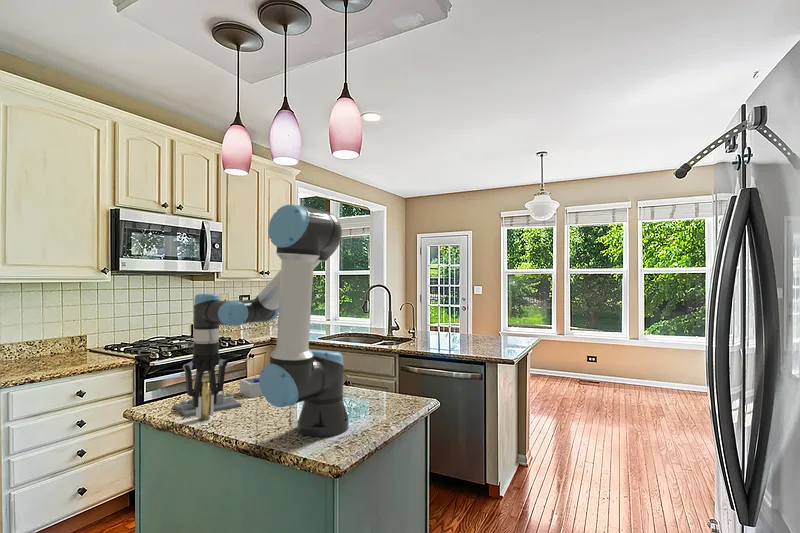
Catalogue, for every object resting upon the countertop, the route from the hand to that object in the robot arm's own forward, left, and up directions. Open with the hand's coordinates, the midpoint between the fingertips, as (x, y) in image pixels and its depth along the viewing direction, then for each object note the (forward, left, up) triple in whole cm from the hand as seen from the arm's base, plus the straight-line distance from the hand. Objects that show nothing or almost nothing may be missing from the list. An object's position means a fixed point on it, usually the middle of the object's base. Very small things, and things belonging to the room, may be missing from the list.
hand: (204, 415), depth 136 cm
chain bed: (+13, -5, -1) cm, 14 cm away
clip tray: (+20, -30, -1) cm, 36 cm away
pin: (0, 0, -1) cm, 1 cm away
